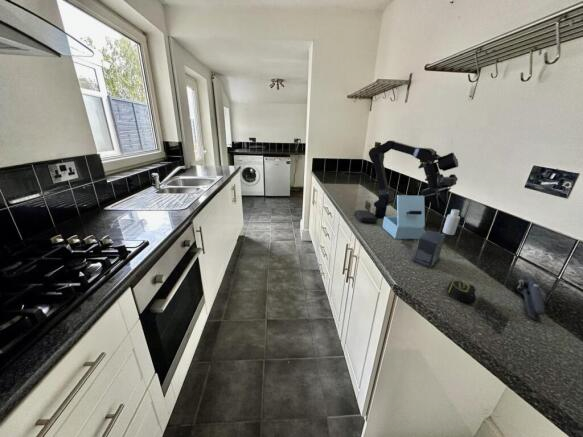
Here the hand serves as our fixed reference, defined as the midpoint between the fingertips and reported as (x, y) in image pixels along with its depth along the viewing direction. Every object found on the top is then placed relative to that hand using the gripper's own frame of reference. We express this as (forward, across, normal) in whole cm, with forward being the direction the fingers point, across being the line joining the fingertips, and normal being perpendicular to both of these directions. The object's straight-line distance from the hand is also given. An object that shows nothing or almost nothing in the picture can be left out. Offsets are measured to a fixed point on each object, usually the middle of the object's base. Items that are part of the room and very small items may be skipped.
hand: (441, 205), depth 109 cm
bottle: (+15, +5, +3) cm, 16 cm away
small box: (+15, -32, -3) cm, 35 cm away
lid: (-3, -17, +6) cm, 18 cm away
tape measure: (+22, -45, -18) cm, 53 cm away
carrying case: (-2, -15, +33) cm, 36 cm away
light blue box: (+7, -16, +14) cm, 22 cm away
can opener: (+29, -31, -29) cm, 52 cm away
